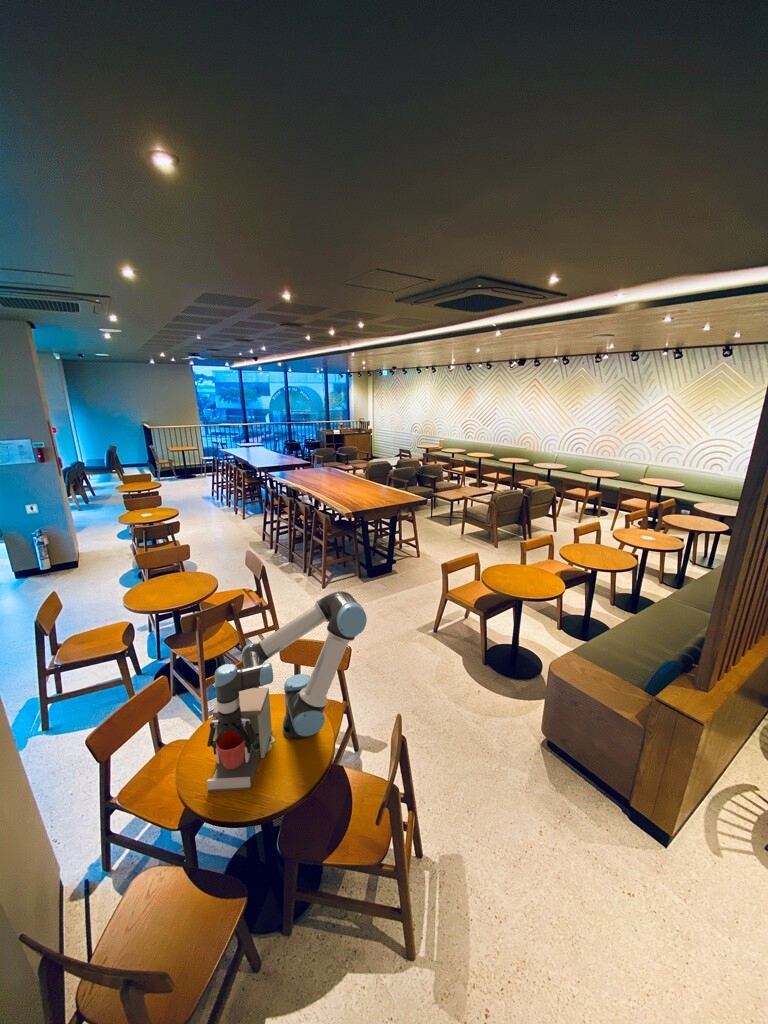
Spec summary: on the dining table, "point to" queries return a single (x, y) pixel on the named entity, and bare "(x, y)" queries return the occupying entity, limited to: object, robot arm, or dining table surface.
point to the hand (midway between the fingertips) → (233, 760)
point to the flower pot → (231, 749)
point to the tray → (235, 775)
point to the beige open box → (254, 714)
